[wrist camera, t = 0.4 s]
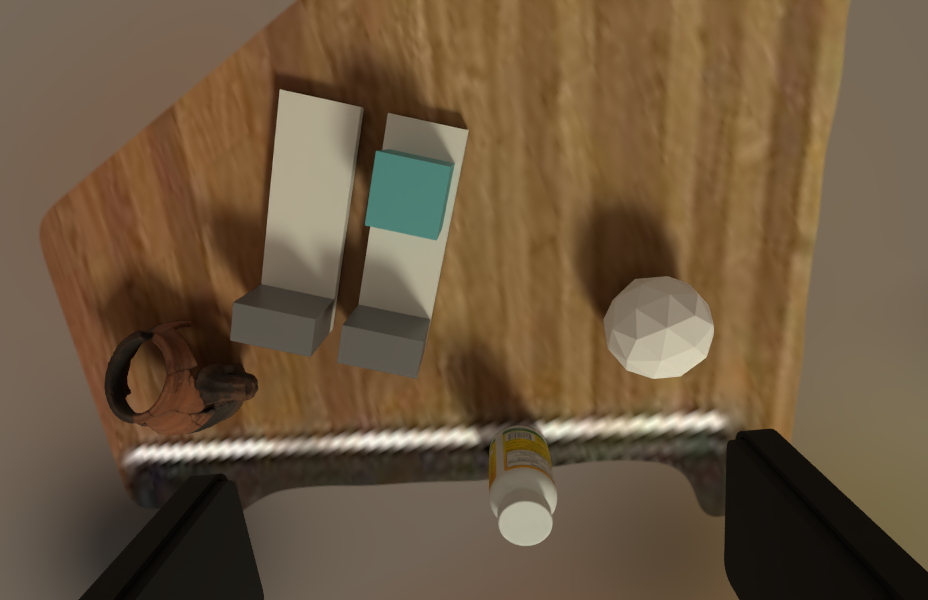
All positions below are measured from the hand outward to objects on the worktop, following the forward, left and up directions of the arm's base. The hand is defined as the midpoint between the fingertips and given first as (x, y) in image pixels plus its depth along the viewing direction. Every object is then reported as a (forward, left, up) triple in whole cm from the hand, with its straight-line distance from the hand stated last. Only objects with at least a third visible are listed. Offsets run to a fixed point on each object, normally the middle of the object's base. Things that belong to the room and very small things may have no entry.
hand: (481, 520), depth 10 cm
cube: (-2, -6, -32) cm, 33 cm away
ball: (+4, +14, -34) cm, 37 cm away
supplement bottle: (+19, +7, -34) cm, 39 cm away
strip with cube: (+2, -6, -34) cm, 34 cm away
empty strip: (+2, -14, -34) cm, 36 cm away
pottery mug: (+17, -21, -34) cm, 43 cm away
